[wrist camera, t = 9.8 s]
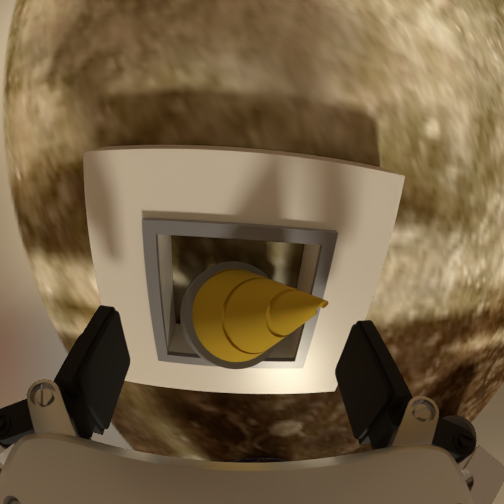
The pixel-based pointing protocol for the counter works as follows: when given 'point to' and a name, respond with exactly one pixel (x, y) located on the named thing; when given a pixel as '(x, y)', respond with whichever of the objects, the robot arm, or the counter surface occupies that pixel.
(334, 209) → the square frame plate
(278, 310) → the yellow ridged cone
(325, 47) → the counter surface
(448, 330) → the counter surface
